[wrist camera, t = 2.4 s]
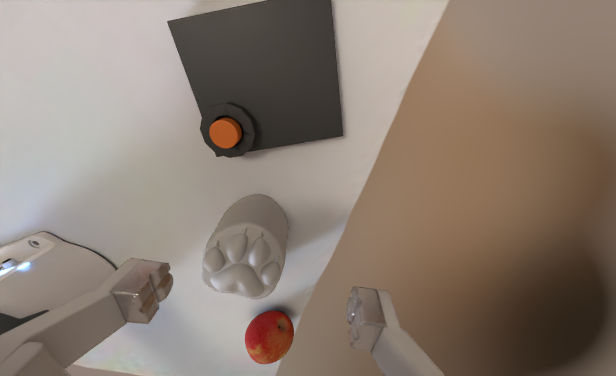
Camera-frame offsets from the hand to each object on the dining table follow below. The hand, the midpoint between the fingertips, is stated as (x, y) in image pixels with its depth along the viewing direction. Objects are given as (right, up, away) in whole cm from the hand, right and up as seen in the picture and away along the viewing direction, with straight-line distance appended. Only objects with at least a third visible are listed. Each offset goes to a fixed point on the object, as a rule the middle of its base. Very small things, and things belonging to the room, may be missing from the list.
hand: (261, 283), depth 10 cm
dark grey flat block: (-3, +16, +16) cm, 23 cm away
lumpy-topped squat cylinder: (-6, -2, +25) cm, 26 cm away
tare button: (-7, +11, +15) cm, 20 cm away
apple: (-5, -21, +34) cm, 41 cm away
